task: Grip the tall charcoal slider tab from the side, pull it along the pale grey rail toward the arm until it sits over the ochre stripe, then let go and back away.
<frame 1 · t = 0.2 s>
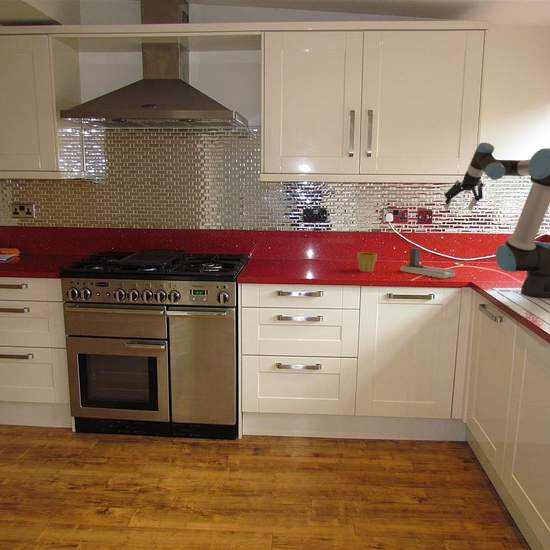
hand: (457, 209, 263), 34 cm above the counter, tool tilted 35°, fingers open, 13 cm apart
rail: (426, 274, 266), on the counter
plant pot: (366, 272, 271), on the counter
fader: (414, 258, 270), point 8 cm above the counter, slide at 0.0 cm
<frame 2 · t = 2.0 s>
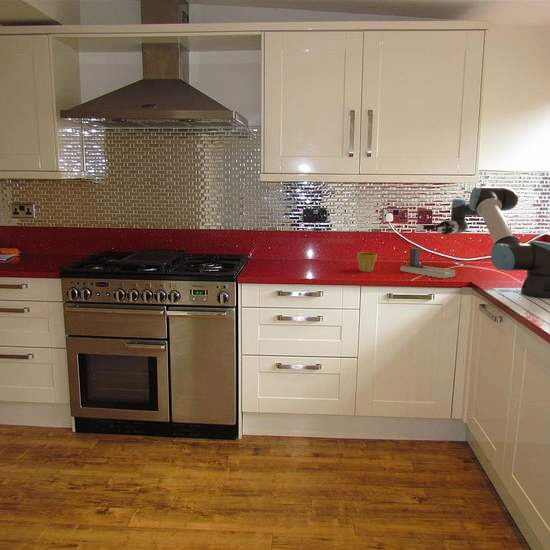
hand: (426, 229, 274), 22 cm above the counter, tool horizontal, fingers open, 13 cm apart
nothing on the counter moved.
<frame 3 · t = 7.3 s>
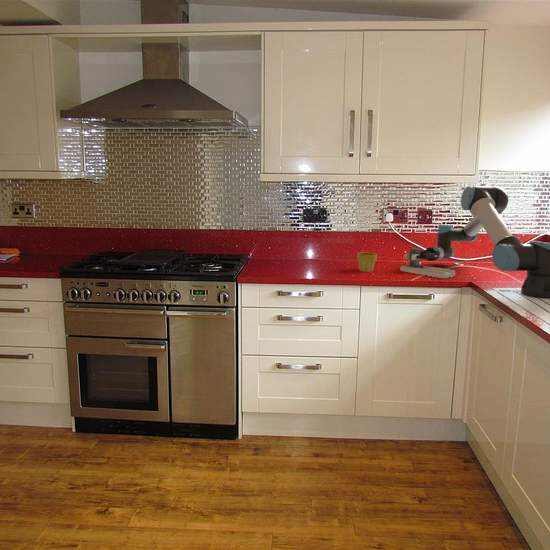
hand: (408, 257, 267), 8 cm above the counter, tool horizontal, fingers closed on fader, 3 cm apart
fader: (414, 258, 270), point 8 cm above the counter, slide at 0.0 cm, touching gripper
everything else where it was.
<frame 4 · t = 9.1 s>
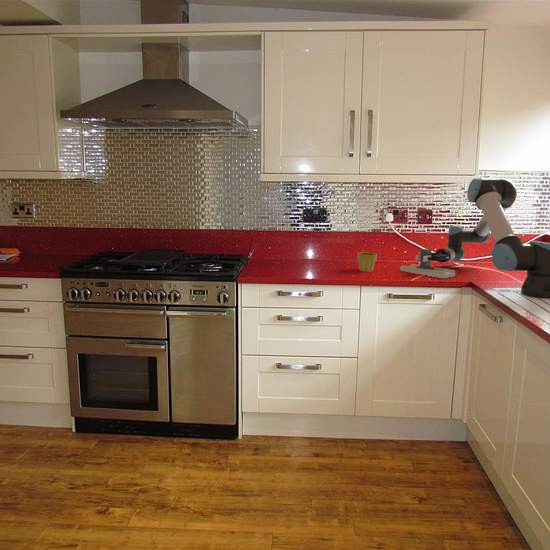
hand: (420, 258, 262), 8 cm above the counter, tool horizontal, fingers closed on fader, 3 cm apart
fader: (425, 259, 265), point 8 cm above the counter, slide at 6.8 cm, touching gripper
everything else where it was.
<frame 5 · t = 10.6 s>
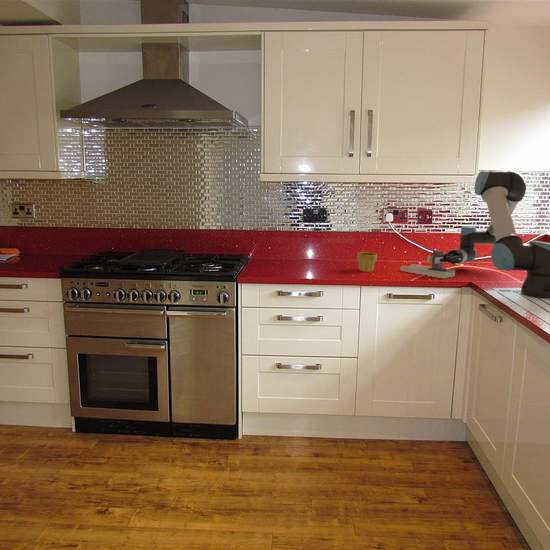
hand: (431, 260, 257), 8 cm above the counter, tool horizontal, fingers closed on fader, 3 cm apart
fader: (437, 260, 260), point 8 cm above the counter, slide at 13.7 cm, touching gripper
everything else where it was.
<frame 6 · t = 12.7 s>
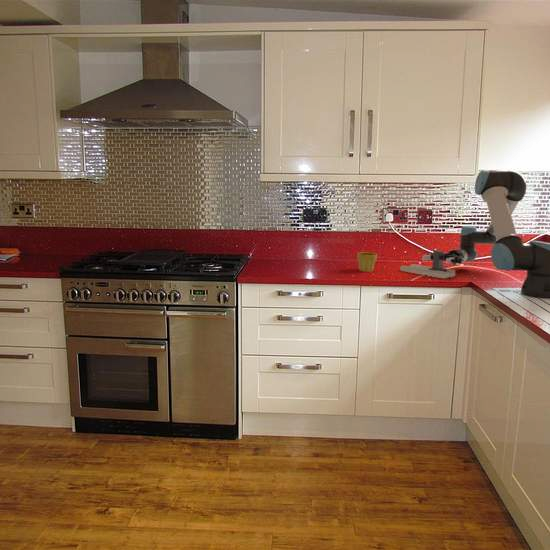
hand: (434, 259, 258), 9 cm above the counter, tool horizontal, fingers open, 13 cm apart
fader: (437, 261, 260), point 8 cm above the counter, slide at 13.9 cm
everything else where it was.
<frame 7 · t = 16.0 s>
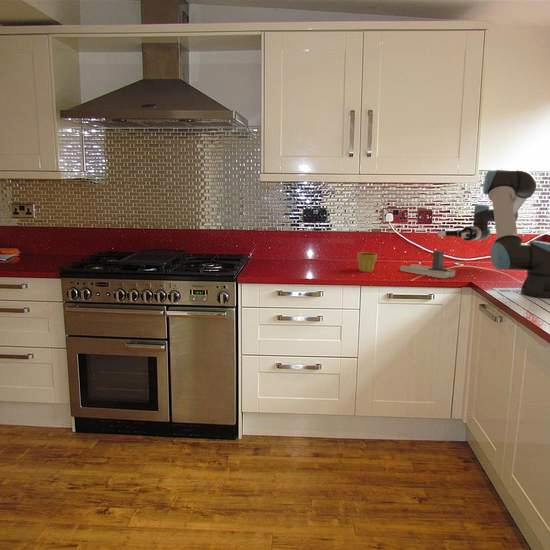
hand: (449, 234, 264), 20 cm above the counter, tool horizontal, fingers open, 13 cm apart
nothing on the counter moved.
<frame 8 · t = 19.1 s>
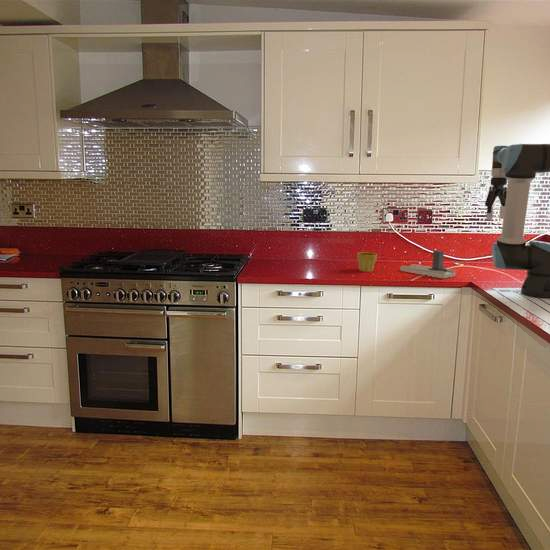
hand: (495, 219, 262), 29 cm above the counter, tool pointing down, fingers open, 13 cm apart
nothing on the counter moved.
at the end: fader slide at 13.9 cm; the gripper is holding nothing; plant pot moved 0.1 cm from its start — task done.
